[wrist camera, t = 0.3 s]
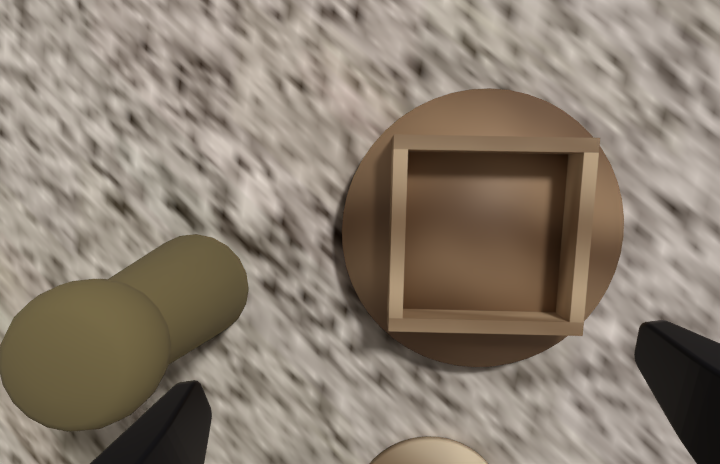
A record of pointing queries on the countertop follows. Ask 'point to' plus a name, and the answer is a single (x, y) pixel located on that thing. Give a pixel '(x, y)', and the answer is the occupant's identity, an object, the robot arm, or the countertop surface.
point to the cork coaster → (429, 452)
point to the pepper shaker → (119, 333)
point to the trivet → (483, 227)
